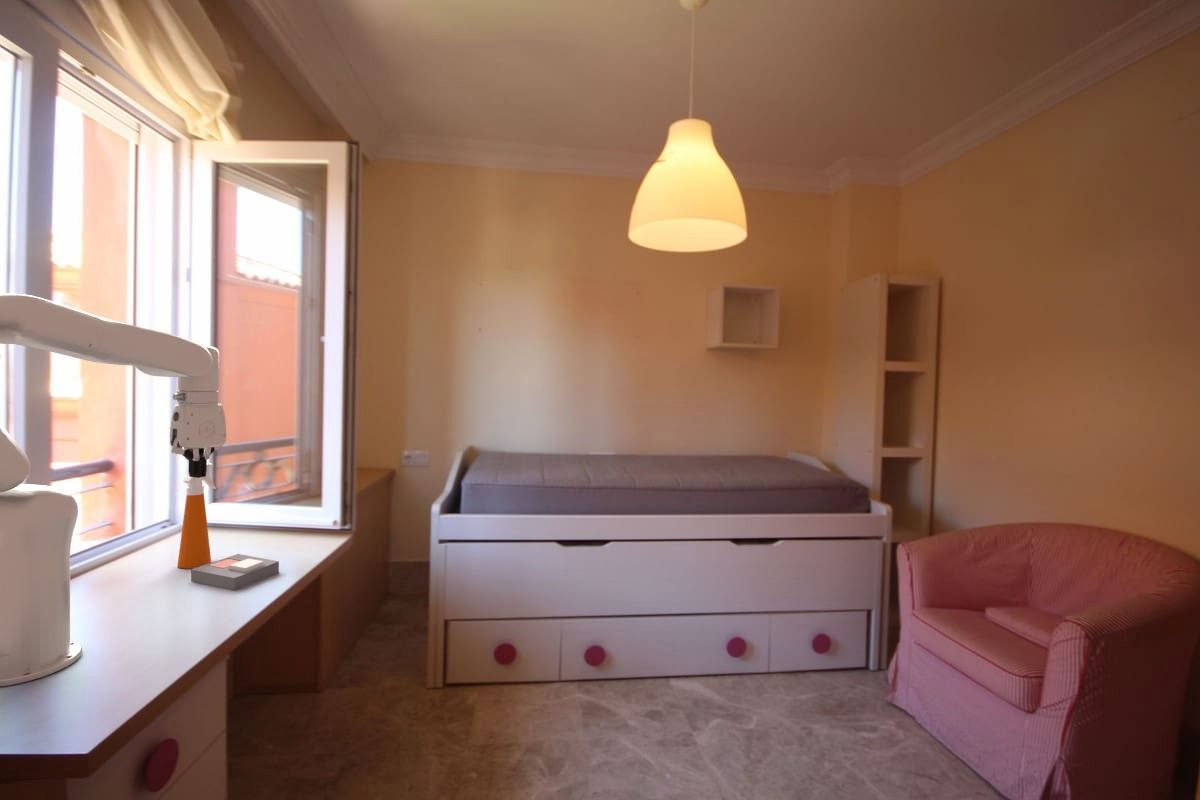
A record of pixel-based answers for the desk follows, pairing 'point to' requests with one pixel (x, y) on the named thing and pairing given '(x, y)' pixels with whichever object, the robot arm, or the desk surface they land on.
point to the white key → (246, 565)
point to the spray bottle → (195, 524)
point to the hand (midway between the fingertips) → (197, 476)
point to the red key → (224, 563)
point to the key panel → (233, 573)
